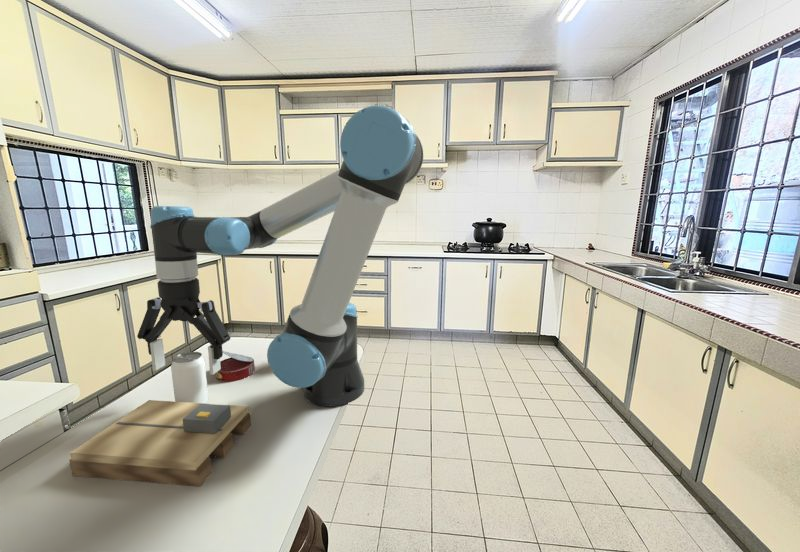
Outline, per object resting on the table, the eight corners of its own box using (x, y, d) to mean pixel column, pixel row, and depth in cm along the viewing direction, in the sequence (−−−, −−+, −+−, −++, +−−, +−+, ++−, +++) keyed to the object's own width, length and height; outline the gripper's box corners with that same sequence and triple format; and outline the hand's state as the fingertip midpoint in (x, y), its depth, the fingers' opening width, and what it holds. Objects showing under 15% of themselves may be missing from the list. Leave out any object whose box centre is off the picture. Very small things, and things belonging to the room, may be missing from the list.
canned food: (223, 384, 96) (222, 350, 98) (260, 378, 97) (258, 344, 100) (206, 385, 85) (205, 346, 88) (247, 378, 87) (246, 340, 89)
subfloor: (251, 425, 70) (249, 405, 69) (200, 486, 54) (197, 462, 54) (149, 418, 72) (146, 399, 71) (71, 475, 56) (67, 451, 55)
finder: (231, 417, 65) (229, 404, 65) (215, 433, 60) (213, 419, 60) (202, 415, 66) (200, 402, 65) (184, 431, 61) (182, 417, 60)
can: (193, 414, 74) (187, 364, 71) (169, 411, 75) (162, 361, 73) (215, 399, 80) (210, 352, 78) (192, 395, 81) (186, 349, 79)
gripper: (243, 278, 75) (248, 365, 79) (139, 272, 77) (149, 358, 81) (222, 285, 67) (229, 381, 71) (108, 279, 69) (121, 373, 73)
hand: (187, 369), depth 76 cm, fingers open, 13 cm apart
